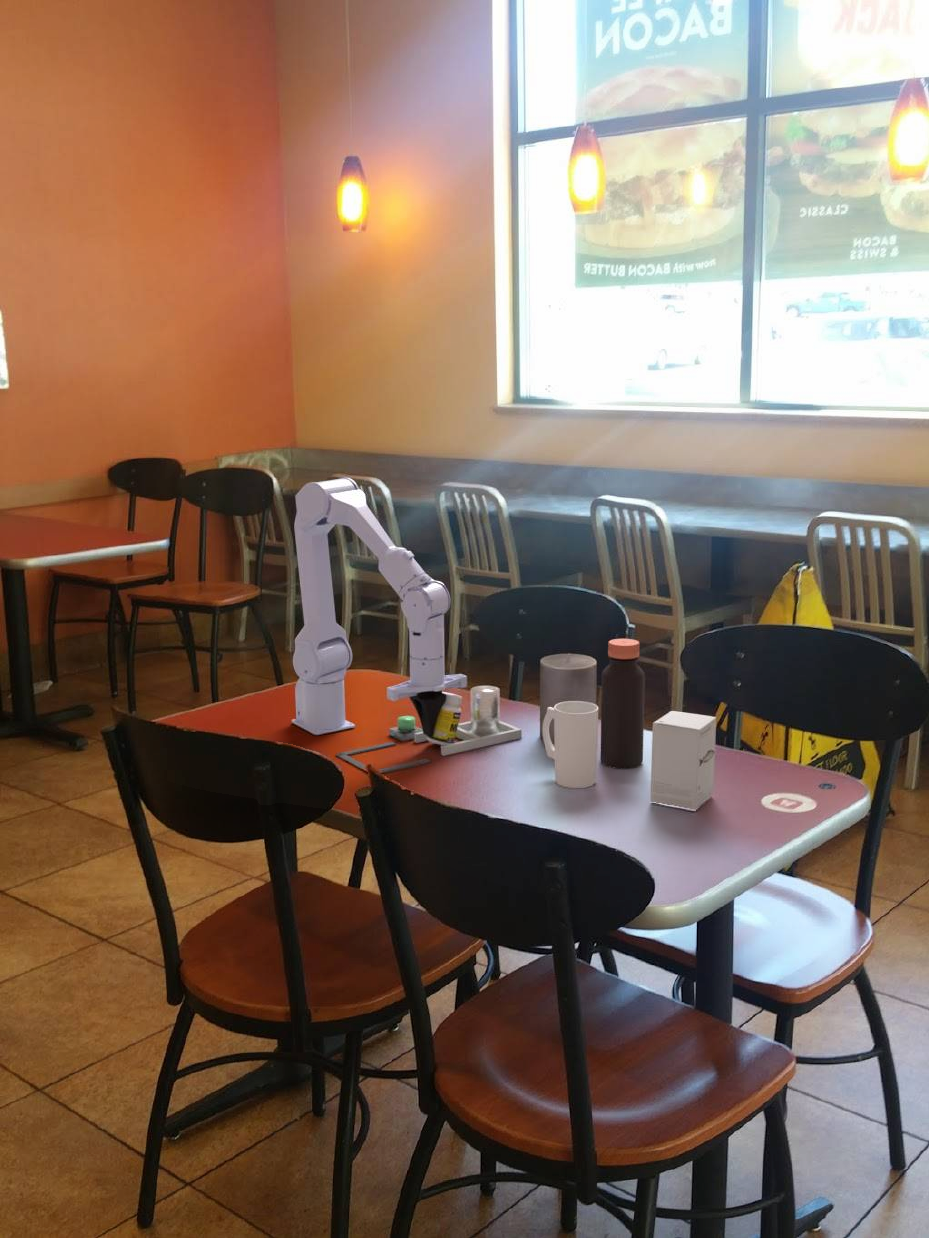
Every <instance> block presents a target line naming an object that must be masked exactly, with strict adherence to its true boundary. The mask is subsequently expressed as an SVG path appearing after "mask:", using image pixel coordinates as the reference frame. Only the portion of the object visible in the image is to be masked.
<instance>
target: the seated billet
mask: <svg viewBox="0 0 929 1238" xmlns="http://www.w3.org/2000/svg"><path fill="white" fill-rule="evenodd" d="M500 691H501V690H500V688H499V687H497V686H495V685H494V686H493V685H478V686H477V685H476V686H474V687H472V688H470V721H471V733H473V734H475V735H477V736H480V737H483V736H487V735H492V734H496V733H500V721H501V719H500V718H501V717H500V716H501V713H500V712H501V708H500V707H501V706H500V705H501V704H500V701H501V699H500V698H501V697H500V696H501V695H500V694H501V693H500Z"/></svg>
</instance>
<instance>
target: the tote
mask: <svg viewBox="0 0 929 1238" xmlns="http://www.w3.org/2000/svg"><path fill="white" fill-rule="evenodd" d="M396 745H397V744H396V743H395V742H393V741H389V742H385V743H380V744H375V745H371V746H366V747H360V748H357V749H353V750H348V751H344V752H339V753H335V756H336V757H337V758H339V759H341V760H343V761H345V762H346V761H348V762H349V763H348V762H347V763H348V764H350V763H352V764H353V765H352V764H351V765H352V766H354V765H356V766H357V767H359V768H363V770H364V771H365V766H367V765H365V763H363V762H360V761H358V760H356V759H355V758H353V757H351V756H352V755H357V753H358V754H362V753H367V752H371V751H375V750H380V749H384V748H389V747H394V746H396ZM366 751H367V752H366ZM361 752H362V753H361ZM428 763H429V764H430V763H431V760H429V759H428V758H424V759H419V760H415V761H414V760H413V761H411V762H405V763H402V764H399V765H398V764H397V765H393V766H389V767H385V768H380V769H377V770H378V771H381V772H382V773H383V774H386V773H391V772H395V771H399V770H404V769H408V768H413V767H416V766H420V765H421V766H422V765H426V764H428ZM357 767H356V768H357ZM359 768H358V769H359ZM363 770H362V771H363ZM364 771H363V772H364Z"/></svg>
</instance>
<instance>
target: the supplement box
mask: <svg viewBox="0 0 929 1238" xmlns="http://www.w3.org/2000/svg"><path fill="white" fill-rule="evenodd" d="M716 731H717V717H716V716H712V715H705V714H698V713H690V712H684V711H676V710H670V711H668V713H666V714H664V715H663V716H661V717H660V718H658V719H657V720H655V721H654V722H653V723H652V731H651V732H652V739H651V740H652V741H651V768H650V778H651V779H650V799H649V800H650V801H651V802H656V803H662V804H667V805H674V806H679V807H684V808H690V809H697V808H698V807H699V806H700V805H701V804H702V803H703V802H704V801H705V800H707V799H708V798H709V797H710V796H711V795H713V796H714V783H715V781H714V780H715V759H716V757H715V756H716V733H717V732H716Z"/></svg>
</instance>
